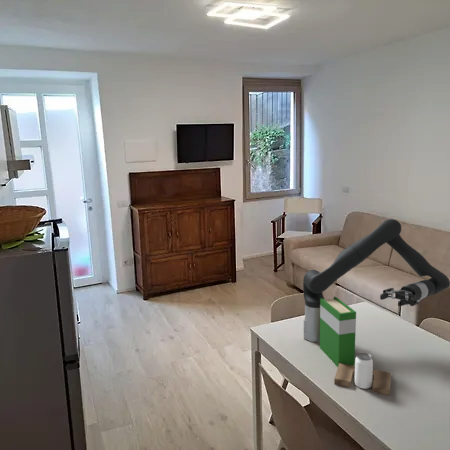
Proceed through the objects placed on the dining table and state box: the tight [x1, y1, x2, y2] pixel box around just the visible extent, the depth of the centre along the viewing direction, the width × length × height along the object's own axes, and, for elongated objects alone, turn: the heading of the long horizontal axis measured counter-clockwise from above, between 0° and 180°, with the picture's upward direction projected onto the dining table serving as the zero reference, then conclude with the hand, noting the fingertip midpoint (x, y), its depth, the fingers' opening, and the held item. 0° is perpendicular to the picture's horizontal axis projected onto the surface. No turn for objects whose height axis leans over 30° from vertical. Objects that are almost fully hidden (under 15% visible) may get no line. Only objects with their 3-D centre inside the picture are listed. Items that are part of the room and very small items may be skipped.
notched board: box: [333, 363, 392, 396], centre depth 160 cm, size 20×12×2 cm, turn 66°
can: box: [354, 352, 374, 390], centre depth 157 cm, size 6×6×12 cm
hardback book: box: [319, 296, 357, 368], centre depth 177 cm, size 18×7×24 cm, turn 13°
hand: (389, 300), depth 167 cm, fingers open, 8 cm apart
